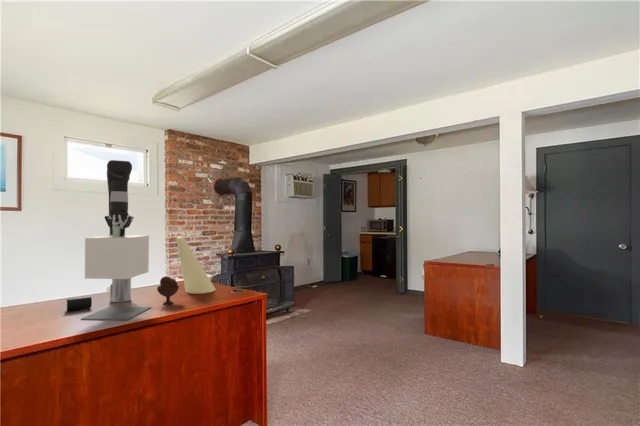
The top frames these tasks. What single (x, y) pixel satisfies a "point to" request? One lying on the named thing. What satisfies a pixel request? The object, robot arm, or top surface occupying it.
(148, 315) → the top surface
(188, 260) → the cone light
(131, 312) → the mat
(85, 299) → the end cap
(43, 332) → the top surface
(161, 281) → the ice cream bowl
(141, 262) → the cover
